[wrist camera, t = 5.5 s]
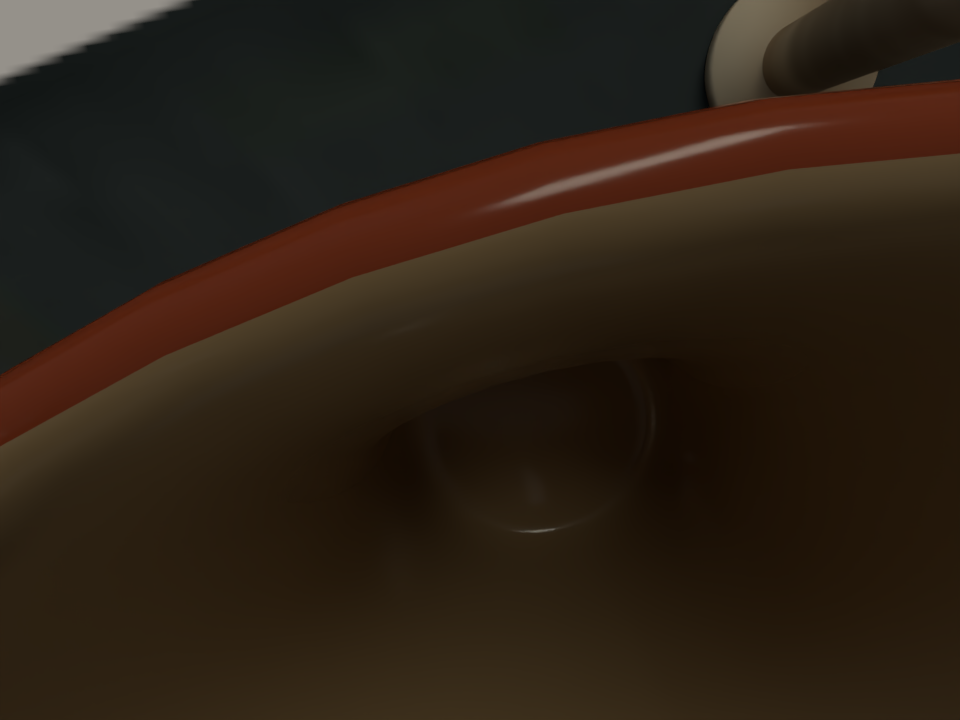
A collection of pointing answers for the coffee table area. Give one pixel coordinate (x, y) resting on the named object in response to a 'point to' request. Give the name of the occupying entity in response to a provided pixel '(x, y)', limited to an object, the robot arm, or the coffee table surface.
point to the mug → (522, 444)
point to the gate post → (820, 44)
